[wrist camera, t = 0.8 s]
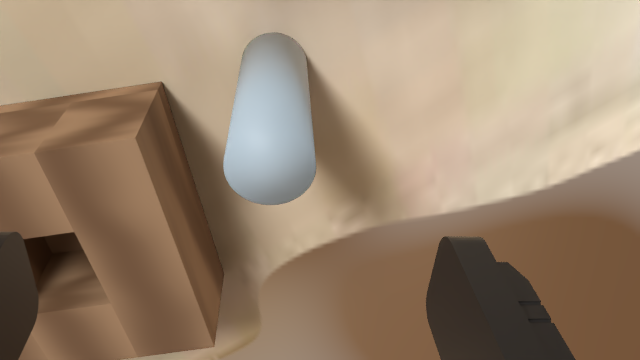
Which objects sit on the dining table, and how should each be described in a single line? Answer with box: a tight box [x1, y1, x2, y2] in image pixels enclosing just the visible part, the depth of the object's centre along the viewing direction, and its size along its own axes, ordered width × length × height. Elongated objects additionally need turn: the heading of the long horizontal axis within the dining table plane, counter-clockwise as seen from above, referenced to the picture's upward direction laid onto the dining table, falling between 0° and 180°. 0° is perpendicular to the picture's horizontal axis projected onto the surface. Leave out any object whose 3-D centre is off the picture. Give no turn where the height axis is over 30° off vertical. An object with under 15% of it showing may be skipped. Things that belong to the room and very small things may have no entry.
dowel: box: [223, 33, 316, 205], centre depth 24 cm, size 3×3×10 cm
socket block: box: [0, 82, 224, 360], centre depth 30 cm, size 14×14×6 cm
